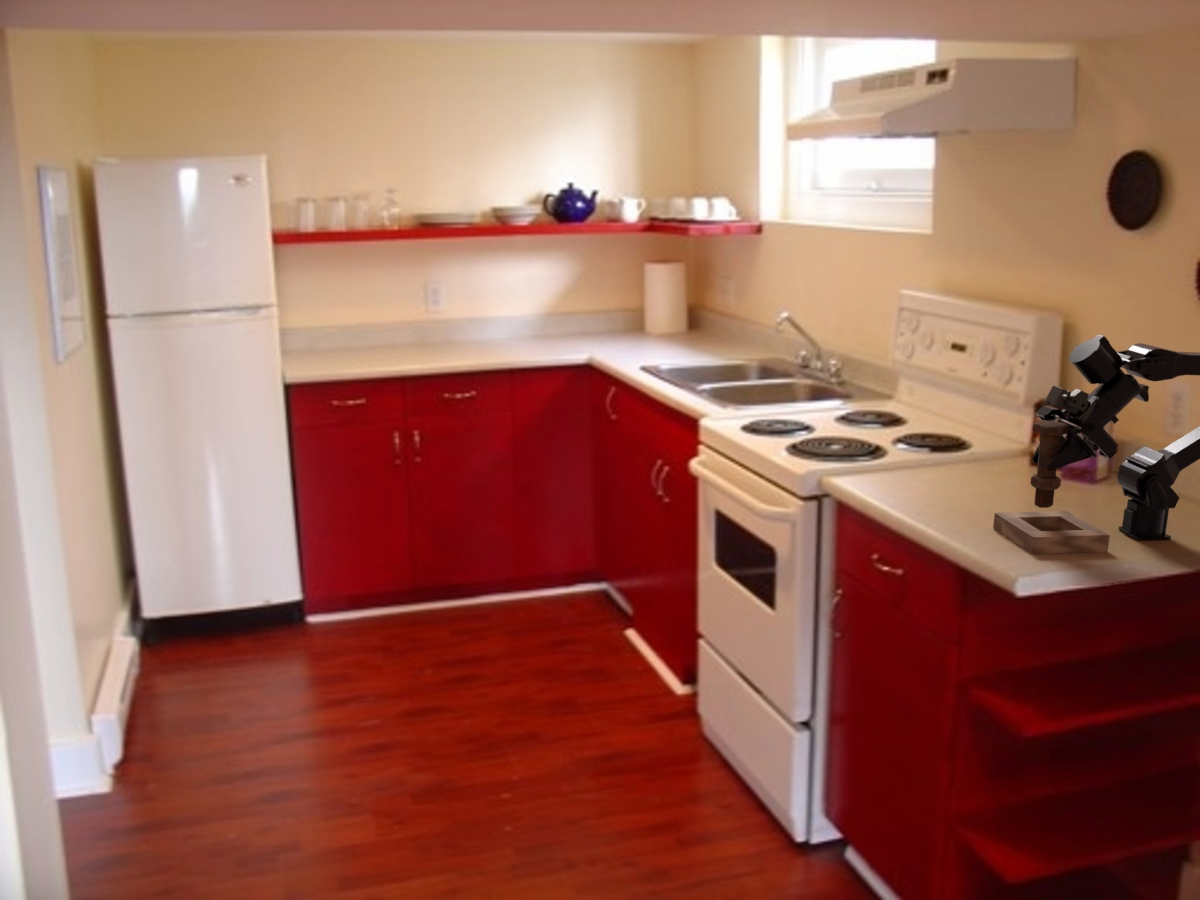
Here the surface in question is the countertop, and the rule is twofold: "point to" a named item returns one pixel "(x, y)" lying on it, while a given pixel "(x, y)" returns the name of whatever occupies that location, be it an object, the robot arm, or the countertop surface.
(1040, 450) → the bolt
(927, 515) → the countertop surface
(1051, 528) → the jig
